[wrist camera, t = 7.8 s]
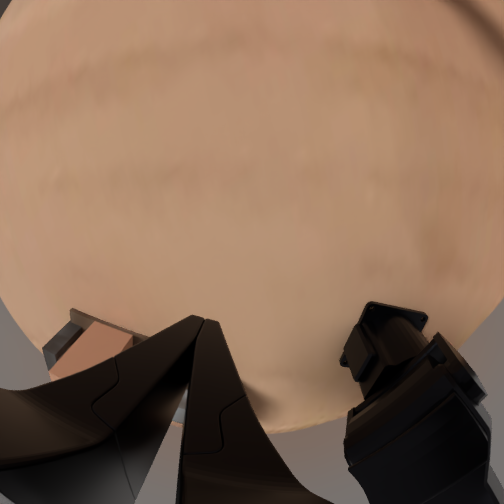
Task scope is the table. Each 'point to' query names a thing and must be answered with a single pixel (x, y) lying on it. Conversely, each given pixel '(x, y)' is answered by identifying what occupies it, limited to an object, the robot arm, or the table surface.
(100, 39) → the table surface
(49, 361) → the rail
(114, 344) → the collar
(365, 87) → the table surface
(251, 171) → the table surface
